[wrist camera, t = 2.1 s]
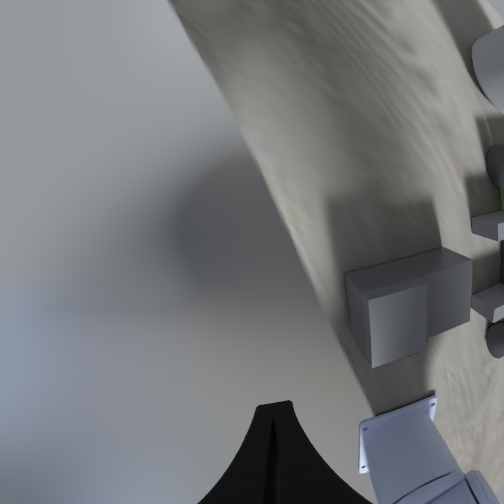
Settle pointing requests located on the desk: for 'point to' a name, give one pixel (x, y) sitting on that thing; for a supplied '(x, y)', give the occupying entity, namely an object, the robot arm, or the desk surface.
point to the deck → (500, 228)
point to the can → (490, 66)
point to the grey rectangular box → (408, 303)
